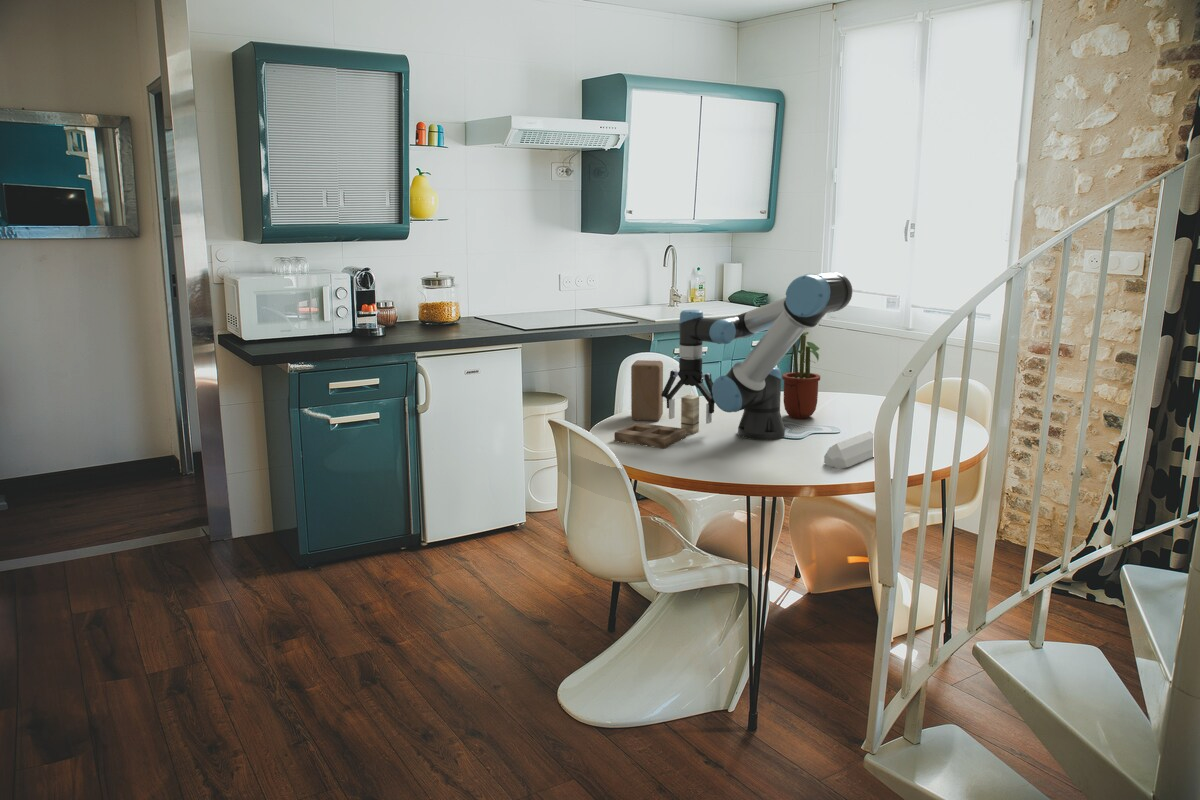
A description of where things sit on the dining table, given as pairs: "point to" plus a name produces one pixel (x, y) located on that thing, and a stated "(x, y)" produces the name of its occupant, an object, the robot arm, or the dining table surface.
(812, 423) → the dining table surface
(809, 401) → the potted plant
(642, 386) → the wooden block
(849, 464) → the crystal
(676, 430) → the walnut board
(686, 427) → the beech peg
